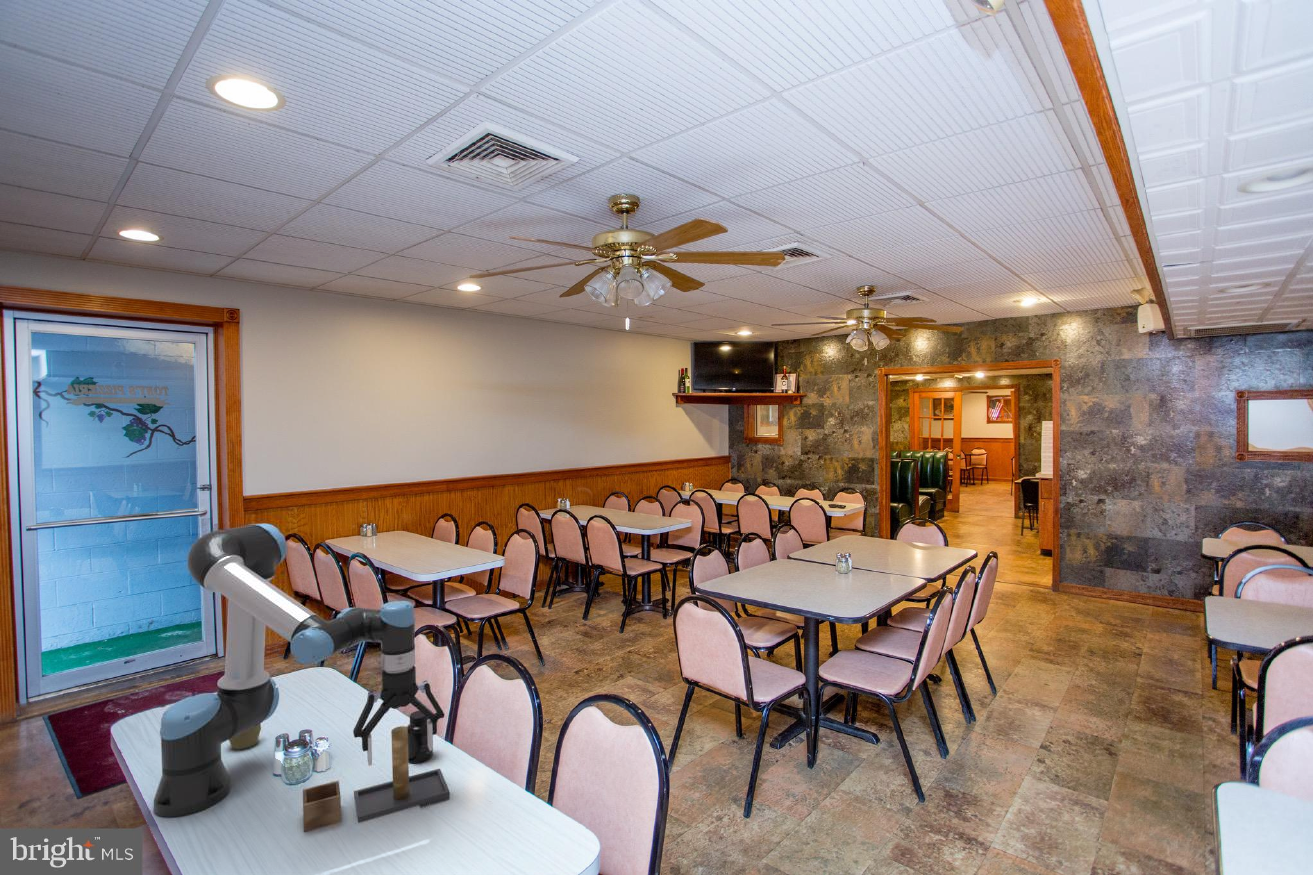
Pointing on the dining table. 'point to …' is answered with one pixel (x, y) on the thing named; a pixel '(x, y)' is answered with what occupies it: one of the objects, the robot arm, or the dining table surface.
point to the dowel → (400, 762)
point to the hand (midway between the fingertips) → (400, 755)
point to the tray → (421, 793)
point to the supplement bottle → (418, 738)
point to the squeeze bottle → (246, 738)
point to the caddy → (321, 805)
